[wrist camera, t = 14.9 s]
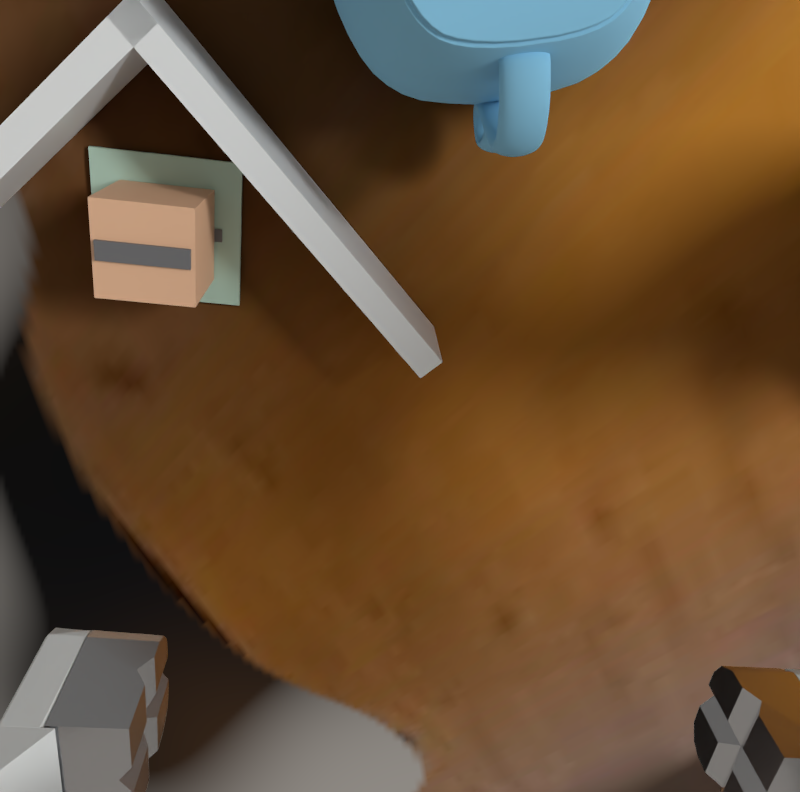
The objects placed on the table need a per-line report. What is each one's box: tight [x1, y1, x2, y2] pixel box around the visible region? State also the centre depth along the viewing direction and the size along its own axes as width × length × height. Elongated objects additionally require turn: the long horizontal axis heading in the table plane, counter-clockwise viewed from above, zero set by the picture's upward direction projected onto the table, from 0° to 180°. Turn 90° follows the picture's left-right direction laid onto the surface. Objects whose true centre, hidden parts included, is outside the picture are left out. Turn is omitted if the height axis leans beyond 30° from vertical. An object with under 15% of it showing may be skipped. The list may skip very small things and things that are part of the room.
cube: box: [88, 180, 215, 307], centre depth 38 cm, size 5×5×5 cm
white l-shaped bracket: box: [0, 0, 442, 378], centre depth 39 cm, size 22×18×6 cm
